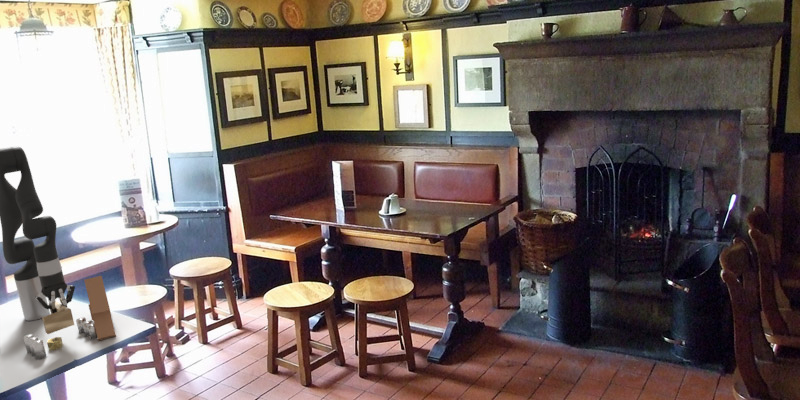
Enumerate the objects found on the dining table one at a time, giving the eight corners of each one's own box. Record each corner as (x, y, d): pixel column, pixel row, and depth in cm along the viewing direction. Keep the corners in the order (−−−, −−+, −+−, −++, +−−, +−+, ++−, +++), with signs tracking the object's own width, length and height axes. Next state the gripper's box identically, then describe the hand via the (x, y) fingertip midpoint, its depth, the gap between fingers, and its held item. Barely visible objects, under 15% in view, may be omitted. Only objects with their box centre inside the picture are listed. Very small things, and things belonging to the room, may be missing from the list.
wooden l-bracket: (33, 324, 237) (30, 309, 235) (59, 315, 243) (56, 301, 241) (47, 334, 227) (44, 318, 226) (74, 324, 233) (70, 309, 232)
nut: (46, 348, 235) (44, 340, 234) (60, 343, 238) (58, 335, 237) (51, 351, 232) (49, 343, 231) (65, 346, 235) (63, 338, 234)
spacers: (25, 351, 234) (21, 335, 233) (86, 328, 249) (82, 314, 248) (38, 360, 225) (34, 344, 223) (101, 336, 240) (97, 321, 238)
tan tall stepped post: (100, 358, 251) (95, 335, 231) (88, 305, 260) (82, 278, 240) (120, 352, 254) (116, 329, 234) (107, 300, 264) (102, 273, 244)
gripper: (66, 264, 241) (76, 307, 245) (25, 276, 231) (36, 321, 235) (74, 267, 236) (84, 311, 239) (33, 279, 226) (44, 325, 230)
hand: (60, 316), depth 237 cm, fingers closed on wooden l-bracket, 2 cm apart
